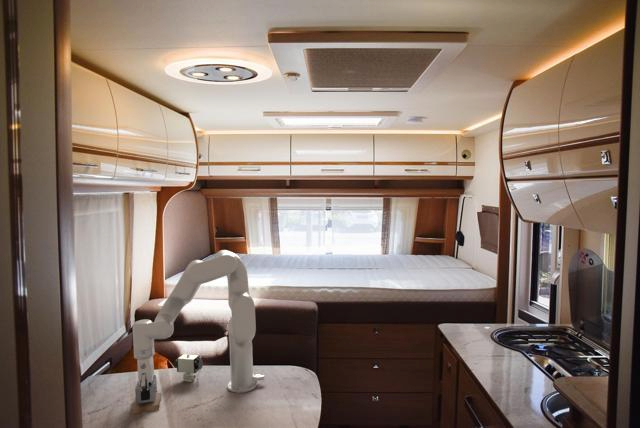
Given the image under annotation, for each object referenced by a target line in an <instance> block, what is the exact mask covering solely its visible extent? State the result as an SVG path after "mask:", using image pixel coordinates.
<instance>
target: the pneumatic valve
mask: <svg viewBox="0 0 640 428" xmlns="http://www.w3.org/2000/svg"><path fill="white" fill-rule="evenodd" d="M203 364H204V361H203V359H201V355H199V354H198V355H197V354H189V353H187V354H184V353H183V354H180V355H179V356H178V357H177V358H175V360H174V362H173V367H174V368H175V369H176V372H177V373H182V374H183V375H182V379H183V382H184V381H188V382H187V383H192V382H193V381H195V380H196V377H197V376H196V374H197V372H199V370H202V368H203Z"/></svg>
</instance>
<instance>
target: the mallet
mask: <svg viewBox="0 0 640 428" xmlns="http://www.w3.org/2000/svg"><path fill="white" fill-rule="evenodd" d="M155 378H156V379H157V376H156V374H154V377H153V379H155ZM161 397H163V396H162V392H157V396H156V400H155V401H152V402H146V403H140V404H136V395H135V397H134V399H133V402H132V406H131V408H130V410H131V411H130V413H131V415H133V414H139V413H140V414H141V413H146V412H151V410H152V411H157V410H156V409H158V410H160V409H159V408H160V407H161V403H160V402H162V398H161Z"/></svg>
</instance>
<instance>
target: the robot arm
mask: <svg viewBox="0 0 640 428" xmlns="http://www.w3.org/2000/svg"><path fill="white" fill-rule="evenodd" d="M248 276H249V275H248V271H247V267H246V266H245V263H244V261H243V260H242V258H241V257H240V256H239V255H237V253H235V252H233V251H230V250H227V249H221V250H219V251H218V252H216V253H215V255H214V257H212V258H210V259H207V260H205V261H204V260H201V259H194V260H192V261H190V262H189V263H188V265H187V267H186V268H185V270H184V271H183V273H182V275H181V277H180V278H179V279H178V282H177V283H176V284H175V286H174V288H173V290H172V291H171V293H170V294H169V296H168V297H167V299H166V300H165V301H164V303H163V304H162V306H161V308H160V309H159V312H158V313H157V315H156V317H155V319H154V322H153V320H150V319H147V318H144V319H140V320H136V321H135V322H133V324H132V341H133V343H132V345H133V358H134V359H137V378H138V379H137V382H138V381H139V384H141V401H144V400H149V399H150V389H149V382H152V381H153V377H154V375H155V366H154V355H155V353H156V352H155V351H156V350H155V340H165V339H168V338H170V337H171V336H172V335H173V334H174V329H175V327H174V326H175V325H174V322H175V321H176V319H177V317H178V315H179V314H180V312H181V310H182V309H183V308H184V307H185V306H186V305H187V304H189V303H191V302H192V301H193V299H194V297H195V296H196V294H197V292H198V290H199V288H200V287H201V286H202V284H206V283H210V282H212V281H215V280H218V279H220V278H223V277H226V279H227V291H228V294H227V295H228V297H227V298H228V301H227V302H228V307H229V309H230V311H231V317H230V318H229V320H228V324H227V332H228V340H229V341H228V342H229V362H230V381H229V382H228V383H227V390H228V391H230V392H231V393H235V394H243V393H248V392H250V391H252V390H254V389H256V387H257V386H258V381H264V380H265V375H264V374H263V375H261V373H258V374H255V373H254V365H253V364H254V362H253V360H254V359H253V339H254V337H255V336H256V331H257V327H256V326H257V325H256V323H257V322H256V307H255V306H256V305H255V302H254V299H253V298H252V295H250V291H249V290H250V289H249V288H250V287H249V277H248ZM146 380H147V382H145V381H146ZM146 384H147V386H146Z"/></svg>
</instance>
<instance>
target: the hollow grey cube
mask: <svg viewBox="0 0 640 428" xmlns="http://www.w3.org/2000/svg"><path fill="white" fill-rule="evenodd" d="M145 382H147V380H146V381H145ZM157 384H158V383H157V377H156V378H155V379H153V381H152V382H149V389H150V399H149V400H144V401H141V384H139V381H138V380H137V382H136V385H135V389H134V390H135V391H134V392H135V396H136V404H140V403H146V402H152V401H155V400H156V396H157V393H158V386H157ZM146 386H147V384H146Z"/></svg>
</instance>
